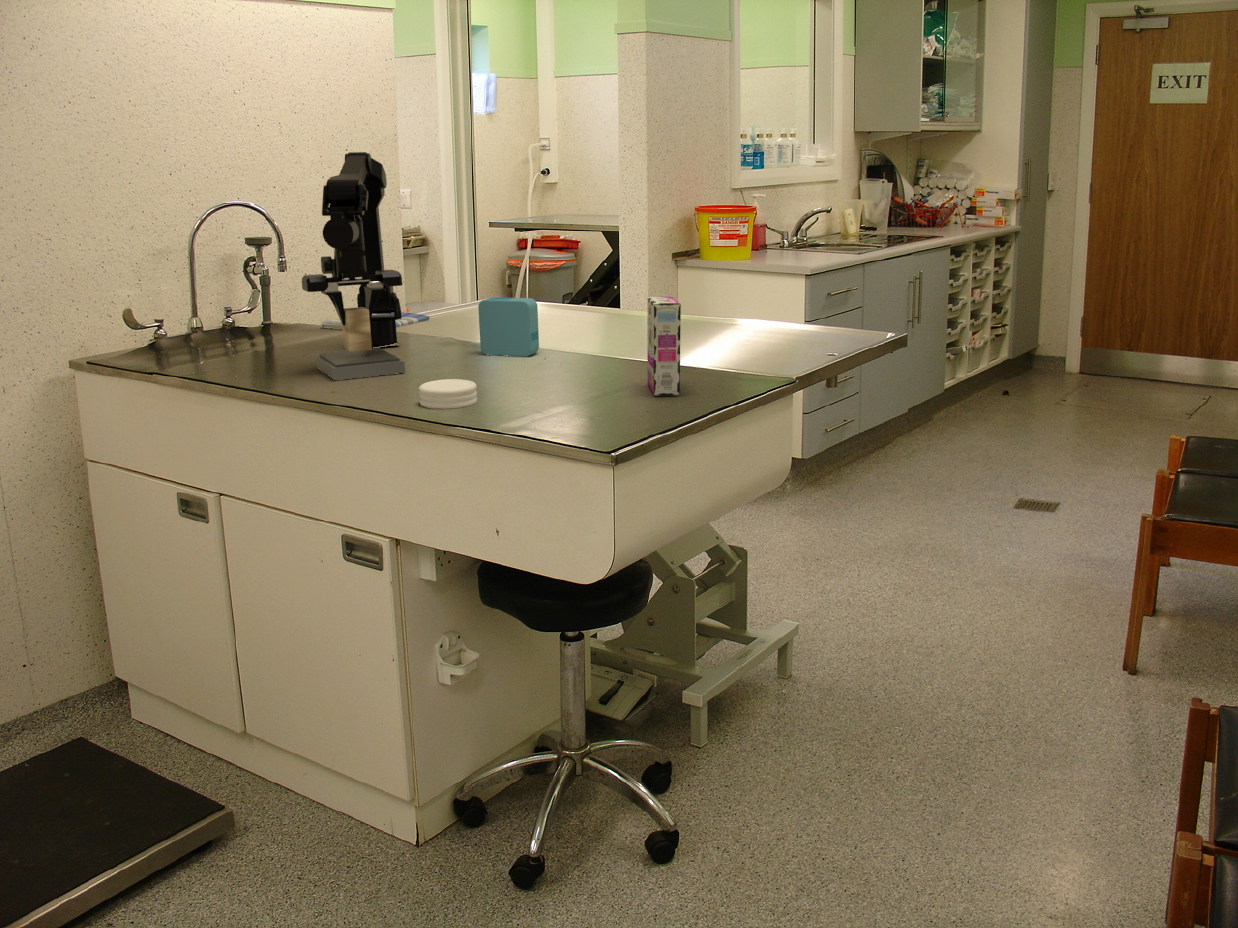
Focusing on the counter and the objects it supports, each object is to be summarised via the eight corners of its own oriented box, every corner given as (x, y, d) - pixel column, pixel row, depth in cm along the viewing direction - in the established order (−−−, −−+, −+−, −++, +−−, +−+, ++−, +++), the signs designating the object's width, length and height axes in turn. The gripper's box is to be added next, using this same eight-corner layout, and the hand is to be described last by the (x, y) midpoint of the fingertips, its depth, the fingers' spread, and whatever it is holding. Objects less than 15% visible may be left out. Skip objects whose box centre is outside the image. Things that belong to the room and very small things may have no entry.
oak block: (366, 346, 221) (363, 307, 219) (372, 349, 217) (368, 309, 215) (344, 348, 219) (340, 308, 217) (349, 351, 215) (346, 311, 213)
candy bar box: (682, 396, 191) (681, 303, 186) (653, 397, 191) (652, 304, 186) (673, 383, 202) (673, 295, 197) (646, 384, 201) (645, 296, 197)
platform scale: (383, 361, 229) (382, 347, 228) (405, 373, 216) (403, 358, 215) (316, 368, 223) (315, 353, 222) (334, 381, 209) (333, 365, 209)
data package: (539, 353, 235) (537, 298, 231) (531, 357, 231) (529, 301, 227) (489, 351, 239) (486, 297, 235) (480, 355, 234) (477, 299, 231)
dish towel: (318, 330, 276) (317, 319, 275) (382, 318, 295) (381, 308, 295) (369, 335, 267) (368, 324, 267) (431, 322, 287) (430, 311, 286)
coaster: (435, 396, 195) (434, 377, 194) (486, 399, 193) (485, 379, 192) (409, 408, 186) (408, 388, 185) (462, 411, 183) (461, 391, 182)
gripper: (384, 240, 223) (390, 315, 228) (292, 244, 215) (300, 323, 220) (400, 243, 214) (405, 322, 218) (304, 248, 206) (312, 330, 210)
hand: (355, 324), depth 217 cm, fingers closed on oak block, 4 cm apart
